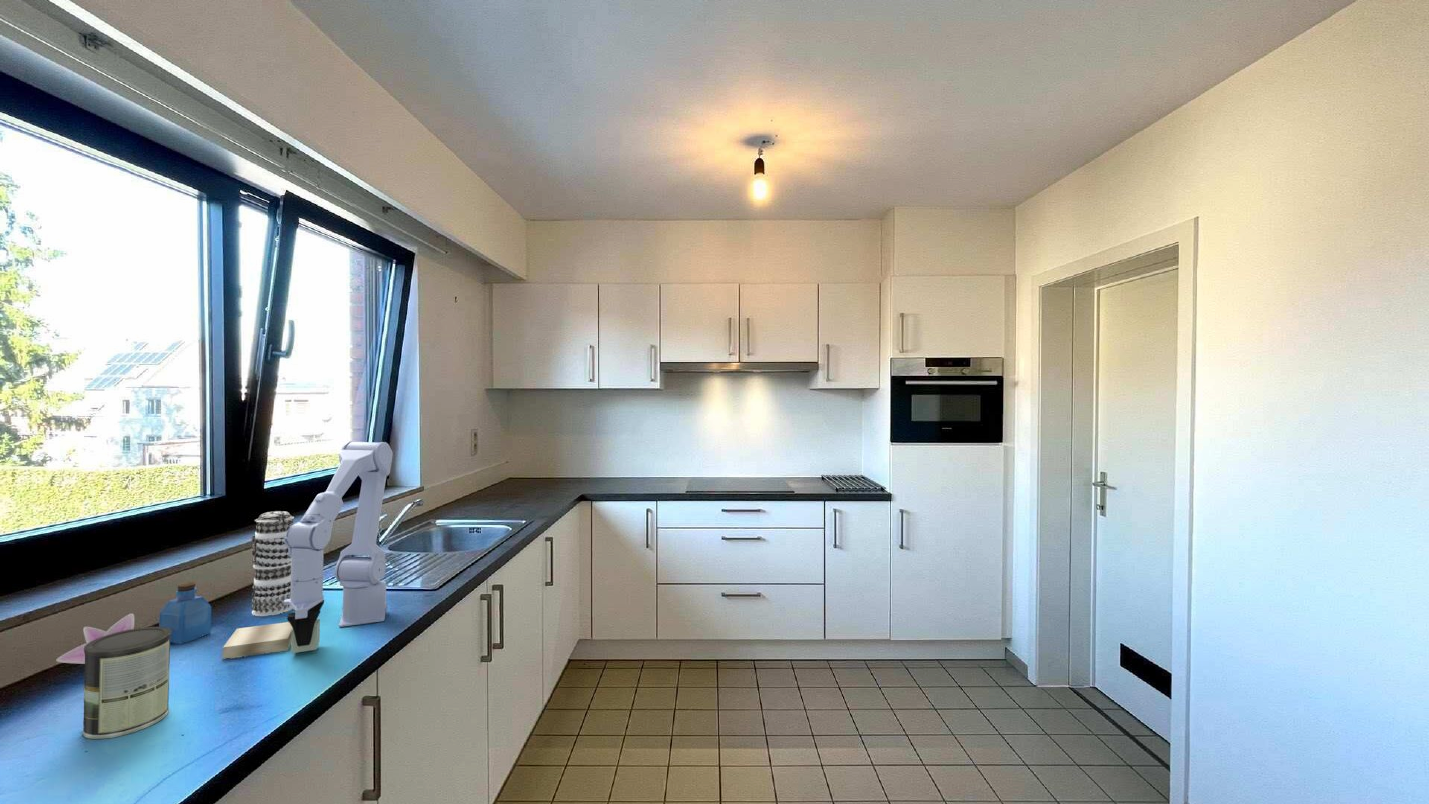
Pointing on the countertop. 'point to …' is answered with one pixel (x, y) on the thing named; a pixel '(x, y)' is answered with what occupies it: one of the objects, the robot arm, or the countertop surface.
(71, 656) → the lily
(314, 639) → the sage block
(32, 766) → the countertop surface
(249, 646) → the birch slab
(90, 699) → the coffee can
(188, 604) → the perfume bottle
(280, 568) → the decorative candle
